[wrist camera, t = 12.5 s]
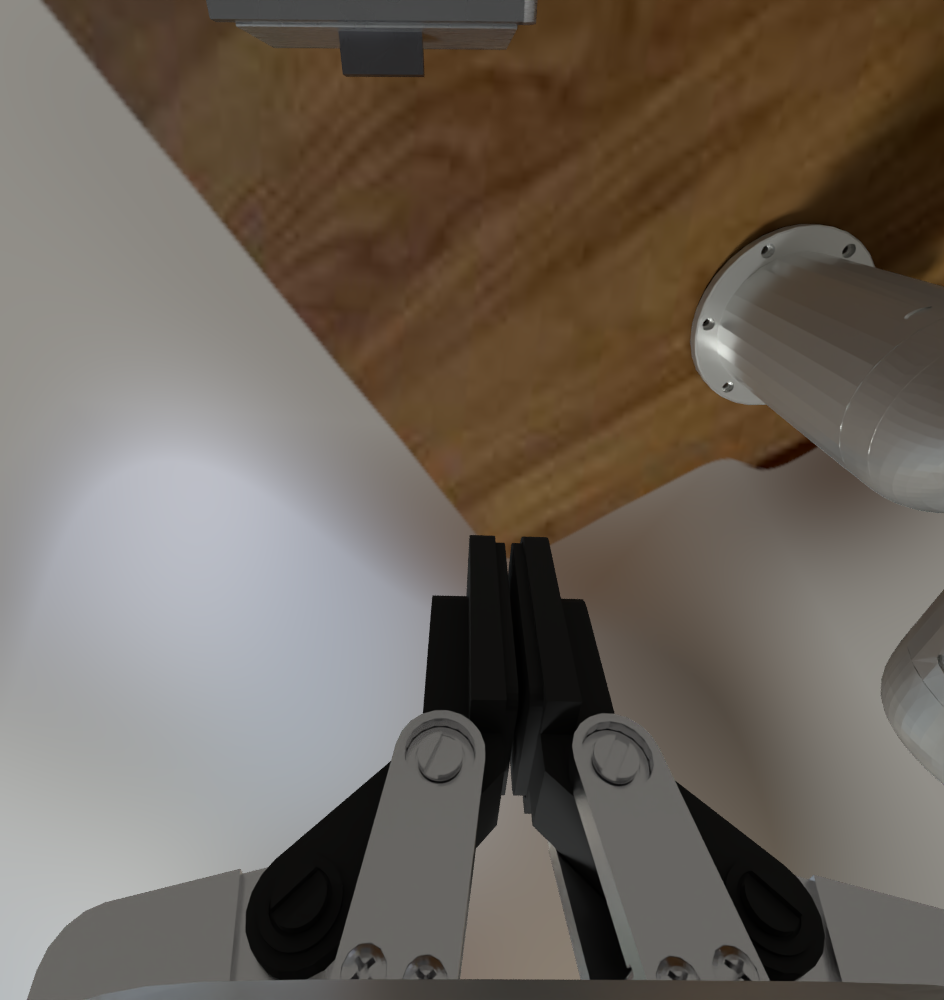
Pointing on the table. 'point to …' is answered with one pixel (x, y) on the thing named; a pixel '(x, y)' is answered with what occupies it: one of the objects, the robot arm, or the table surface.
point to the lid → (376, 11)
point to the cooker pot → (381, 42)
